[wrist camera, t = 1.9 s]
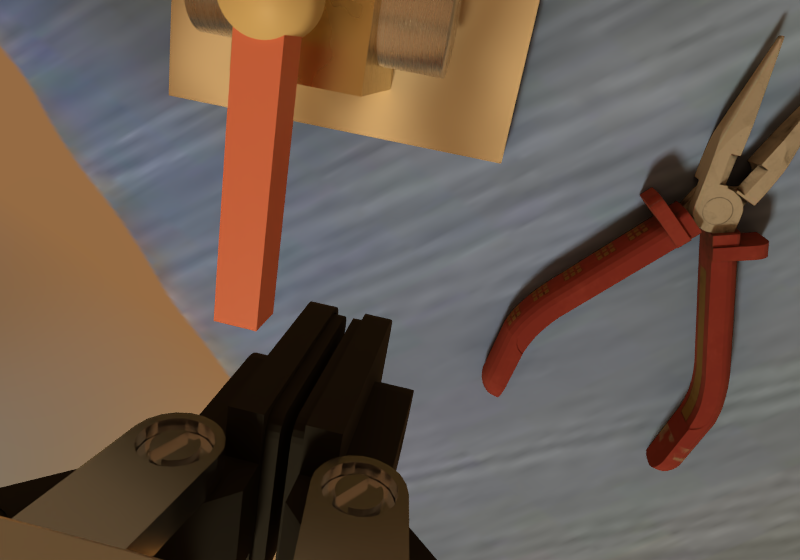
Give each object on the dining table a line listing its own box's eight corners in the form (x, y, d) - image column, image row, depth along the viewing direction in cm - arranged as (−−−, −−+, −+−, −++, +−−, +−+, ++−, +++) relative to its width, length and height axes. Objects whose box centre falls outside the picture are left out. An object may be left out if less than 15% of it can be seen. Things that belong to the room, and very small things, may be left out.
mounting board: (558, -83, 25) (561, -91, 23) (501, 158, 28) (501, 163, 27) (193, -142, 26) (176, -153, 25) (184, 93, 30) (168, 95, 29)
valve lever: (243, -64, 19) (217, -77, 17) (331, -49, 18) (313, -60, 17) (219, 299, 23) (196, 317, 21) (289, 316, 23) (271, 336, 21)
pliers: (927, 105, 25) (970, 110, 23) (665, 458, 33) (677, 489, 30) (674, -5, 25) (690, -12, 23) (474, 370, 33) (470, 394, 31)
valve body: (472, -41, 24) (457, -81, 18) (445, 100, 26) (421, 114, 20) (240, -81, 25) (140, -133, 19) (231, 58, 27) (137, 57, 21)
